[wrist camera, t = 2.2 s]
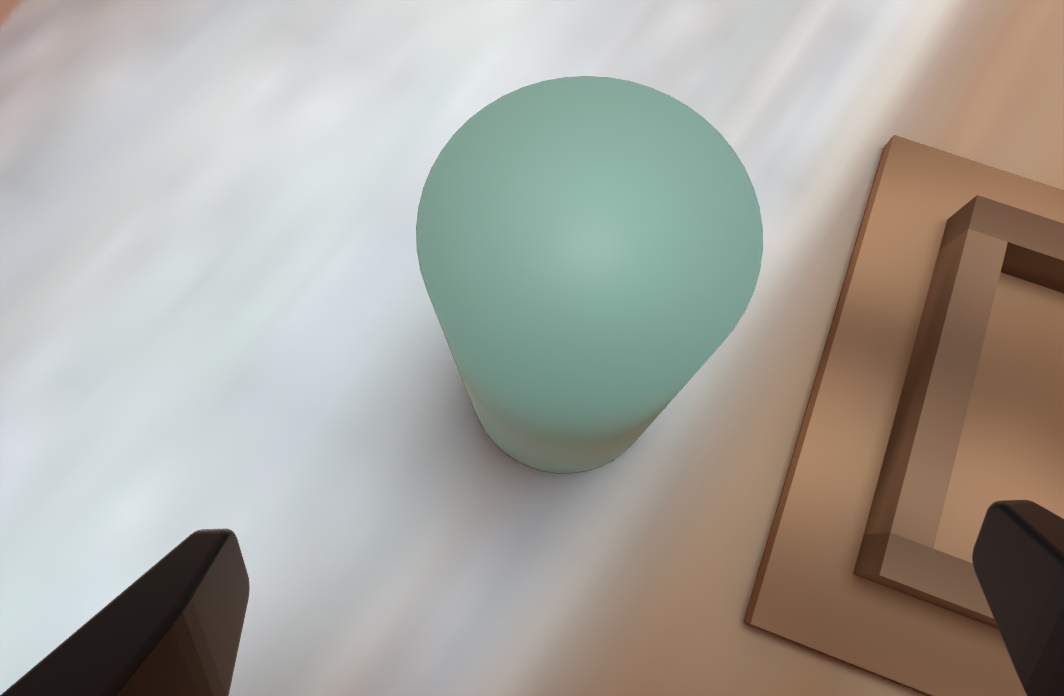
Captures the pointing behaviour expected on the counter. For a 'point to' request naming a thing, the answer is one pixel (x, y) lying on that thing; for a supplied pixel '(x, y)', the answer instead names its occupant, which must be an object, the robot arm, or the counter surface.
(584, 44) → the counter surface
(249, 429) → the counter surface
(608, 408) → the green dome-top cylinder
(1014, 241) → the cradle board
